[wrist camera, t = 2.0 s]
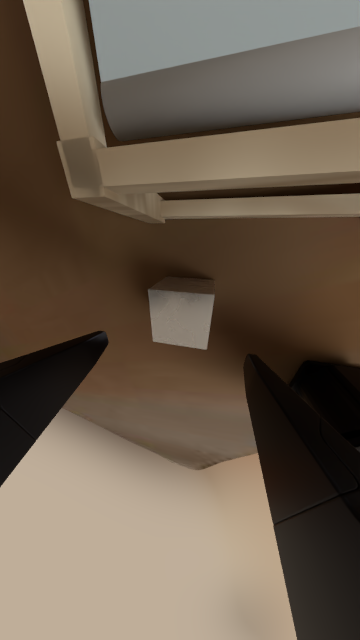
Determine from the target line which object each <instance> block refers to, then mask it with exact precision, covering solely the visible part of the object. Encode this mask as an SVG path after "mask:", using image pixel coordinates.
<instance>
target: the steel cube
mask: <svg viewBox="0 0 360 640" xmlns="http://www.w3.org/2000/svg"><path fill="white" fill-rule="evenodd" d="M148 294H149V305H150V315H151V325H152V336H153V341H154V342H160V343H166V344H173V345H179V346H186V347H192V348H199V349H205V350H207V344H208V337H209V331H210V324H211V317H212V310H213V303H214V297H215V280H213V279H198V278H182V277H165V278H164V279H162V280H161V281H160V282H158V283H157V284H155V285H154V286H152V287H151V288H149V289H148Z"/></svg>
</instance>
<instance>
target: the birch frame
mask: <svg viewBox="0 0 360 640" xmlns="http://www.w3.org/2000/svg"><path fill="white" fill-rule="evenodd" d="M23 2H24V6H25V10H26V13H27V17H28V21H29V25H30V28H31V32H32V36H33V40H34V43H35V47H36V51H37V55H38V58H39V62H40V66H41V69H42V73H43V77H44V81H45V84H46V88H47V92H48V96H49V99H50V103H51V107H52V111H53V114H54V118H55V122H56V125H57V129H58V133H59V137H60V140H61V141H56V143H57V146H58V150H59V153H60V157H61V161H62V164H63V168H64V171H65V175H66V179H67V182H68V186H69V189H70V193H71V197H72V198H73V199H76V200H79V201H82V202H86V203H89V204H92V205H95V206H98V207H101V208H104V209H107V210H110V211H113V212H116V213H119V214H122V215H125V216H128V217H131V218H134V219H137V220H140V221H143V222H146V223H165V219H210V218H291V217H360V193H358V194H332V195H305V196H278V197H251V198H224V199H197V200H170V201H165V200H164V199H163V198H162V197H161V196H159V195H158V194H157V193H159V192H179V191H200V190H220V189H241V188H261V187H282V186H303V185H323V184H344V183H360V118H354V119H345V120H337V121H328V122H320V123H312V124H303V125H295V126H286V127H278V128H269V129H261V130H252V131H244V132H235V133H227V134H218V135H210V136H201V137H193V138H184V139H176V140H168V141H159V142H151V143H142V144H134V145H125V146H117V147H108V148H107V146H106V140H105V133H104V127H103V121H102V115H101V109H100V103H99V96H98V90H97V84H96V78H95V72H94V65H93V59H92V53H91V47H90V41H89V35H88V28H87V22H86V16H85V10H84V4H83V0H23Z"/></svg>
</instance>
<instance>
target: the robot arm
mask: <svg viewBox="0 0 360 640" xmlns="http://www.w3.org/2000/svg"><path fill="white" fill-rule="evenodd" d="M107 345H108V338H107V335H106V332H104V331H97V332H94V333H91V334H87V335H84V336H81V337H78V338H75V339H72V340H69V341H66V342H63V343H60V344H57V345H54V346H51V347H48V348H45V349H42V350H39V351H36V352H33V353H30V354H27V355H24V356H21V357H18V358H15V359H12V360H8V361H5V362H2V363H0V487H1V485H2V484H3V483H4V481H5V480H6V479H7V478H8V476H9V475H10V474H11V472H12V471H13V470H14V469H15V467H16V466H17V465H18V463H19V462H20V461H21V459H22V458H23V457H24V456H25V454H26V453H27V452H28V451H29V449H30V448H31V446H32V445H33V444H34V443H35V442H36V440H37V439H38V437H39V436H40V435H41V434H42V432H43V431H44V430H45V428H46V427H47V426H48V425H49V423H50V422H51V420H52V419H53V418H54V417H55V416H56V414H57V413H58V412H59V410H60V409H61V408H62V407H63V405H64V404H65V403H66V401H67V400H68V399H69V398H70V396H71V395H72V394H73V392H74V391H75V390H76V389H77V387H78V386H79V385H80V383H81V382H82V381H83V380H84V378H85V377H86V376H87V374H88V373H89V372H90V371H91V369H92V368H93V367H94V365H95V364H96V362H97V361H98V359H99V358H100V356H101V355H102V353H103V352H104V350H105V348H106V347H107ZM309 365H310V366H309ZM243 369H244V380H245V390H246V398H247V403H248V407H249V412H250V417H251V422H252V426H253V431H254V436H255V441H256V445H257V450H258V455H259V459H260V464H261V469H262V473H263V479H264V483H265V488H266V493H267V497H268V502H269V507H270V511H271V516H272V521H273V524H274V531H275V536H276V541H277V546H278V550H279V555H280V560H281V565H282V569H283V574H284V579H285V583H286V588H287V593H288V598H289V603H290V607H291V612H292V617H293V622H294V626H295V631H296V636H297V640H360V368H353V367H347V366H340V365H333V364H327V363H320V362H313V361H306V362H304V363H303V365H302V366H301V368H300V369H299V371H298V373H297V374H296V376H295V377H294V379H293V381H292V382H291V384H290V385H289V386H288V385H287V384H286V383H285V382H284V381H283V380H282V379H281V378H280V377H279V376H278V375H277V374H276V373H275V372H274V371H272V370H271V369H270V368H269V367H268V366H267V365H266V364H265V363H264V362H263V361H262V360H261V359H260V358H259V357H258V356H257V355H254V354H247V356H246V359H245V362H244V367H243Z"/></svg>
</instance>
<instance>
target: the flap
mask: <svg viewBox="0 0 360 640" xmlns="http://www.w3.org/2000/svg"><path fill="white" fill-rule="evenodd" d="M89 6H90V13H91V19H92V26H93V32H94V39H95V46H96V52H97V59H98V65H99V72H100V78H101V97H102V102H103V107H104V111H105V114H106V117H107V120H108V123H109V125H110V128H111V130H112V132H113V134H114V136H115V137H116V138H117V140H119V141H128V140H136V139H144V138H152V137H161V136H169V135H177V134H185V133H193V132H201V131H209V130H217V129H225V128H233V127H241V126H249V125H257V124H265V123H273V122H281V121H289V120H297V119H305V118H313V117H321V116H329V115H337V114H345V113H353V112H360V0H89Z"/></svg>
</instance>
